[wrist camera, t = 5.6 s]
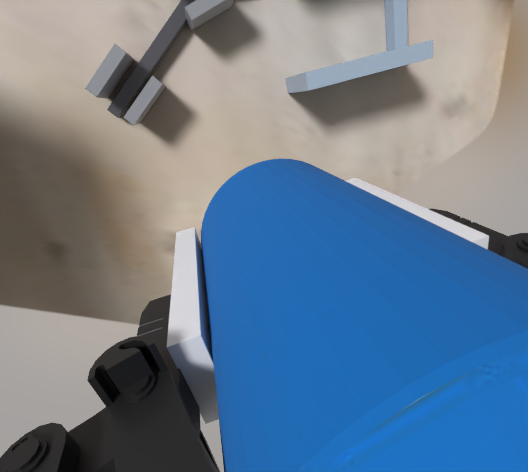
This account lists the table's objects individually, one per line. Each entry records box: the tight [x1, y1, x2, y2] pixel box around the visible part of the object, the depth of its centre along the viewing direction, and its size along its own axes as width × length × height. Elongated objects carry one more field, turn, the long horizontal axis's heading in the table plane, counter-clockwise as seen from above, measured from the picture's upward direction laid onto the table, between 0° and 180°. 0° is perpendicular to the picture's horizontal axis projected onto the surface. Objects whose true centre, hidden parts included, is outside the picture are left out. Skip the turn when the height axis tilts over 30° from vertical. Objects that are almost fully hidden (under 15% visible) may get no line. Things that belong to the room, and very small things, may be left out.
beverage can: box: [201, 159, 528, 472], centre depth 8 cm, size 6×6×12 cm
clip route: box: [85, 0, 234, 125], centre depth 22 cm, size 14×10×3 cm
